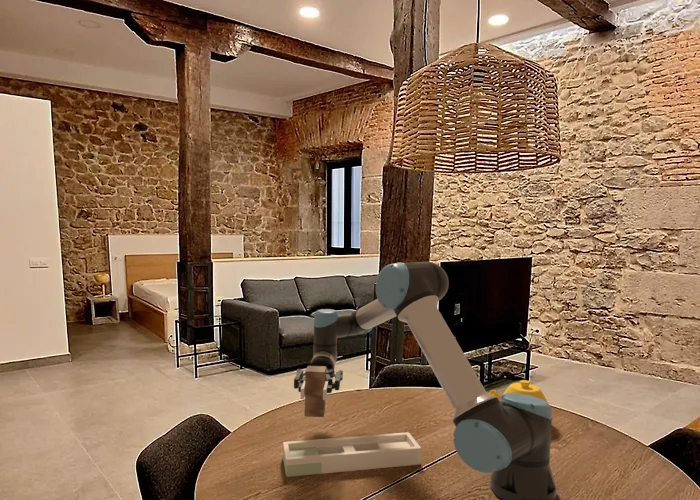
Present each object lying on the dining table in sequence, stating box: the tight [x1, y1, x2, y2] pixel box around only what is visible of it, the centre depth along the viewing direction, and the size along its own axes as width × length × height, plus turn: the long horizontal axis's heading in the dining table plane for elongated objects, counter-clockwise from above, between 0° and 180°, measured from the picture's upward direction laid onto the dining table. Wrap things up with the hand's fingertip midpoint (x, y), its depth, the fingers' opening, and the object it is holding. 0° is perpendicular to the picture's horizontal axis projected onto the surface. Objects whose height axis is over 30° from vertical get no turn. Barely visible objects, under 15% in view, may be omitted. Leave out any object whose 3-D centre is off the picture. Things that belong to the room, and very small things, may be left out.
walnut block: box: [304, 365, 326, 418], centre depth 130 cm, size 5×5×12 cm
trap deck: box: [282, 431, 422, 478], centre depth 132 cm, size 36×10×4 cm, turn 103°
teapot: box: [488, 379, 548, 403], centre depth 160 cm, size 20×16×14 cm
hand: (313, 394), depth 124 cm, fingers closed on walnut block, 5 cm apart
